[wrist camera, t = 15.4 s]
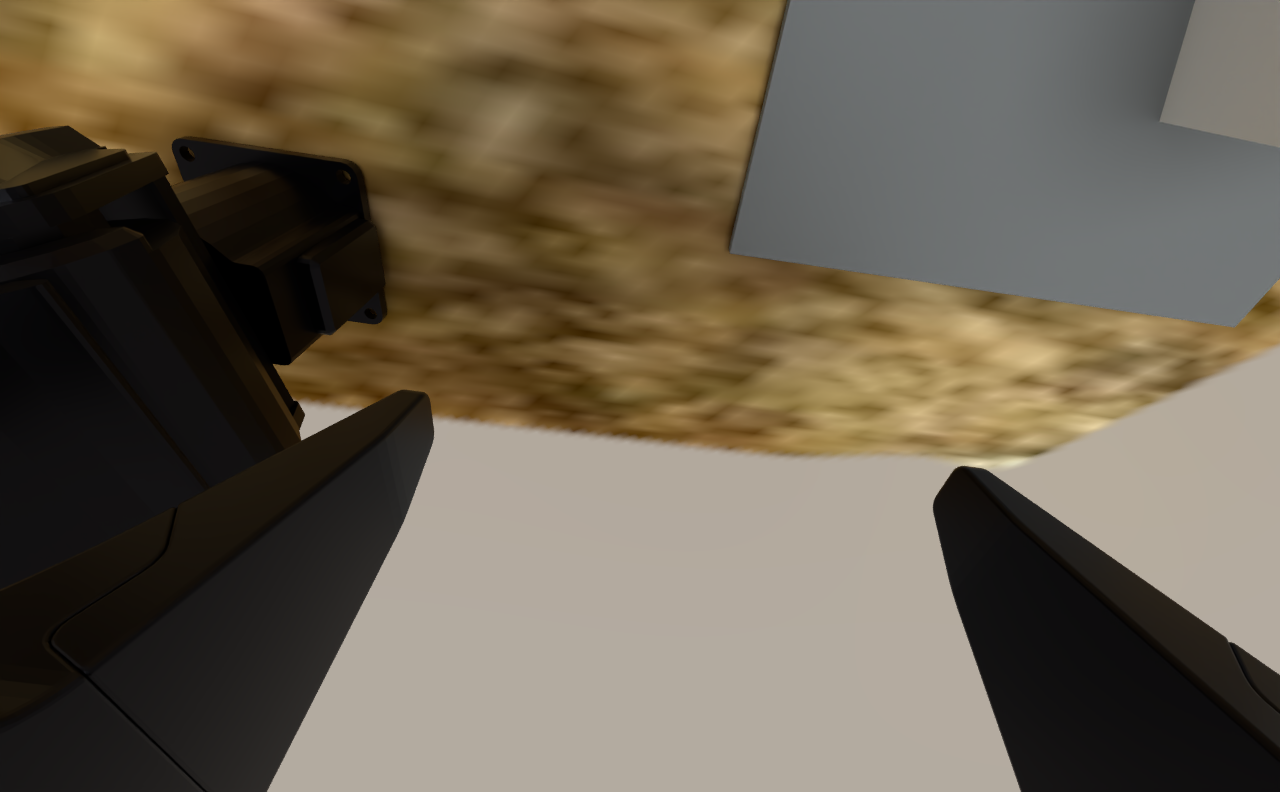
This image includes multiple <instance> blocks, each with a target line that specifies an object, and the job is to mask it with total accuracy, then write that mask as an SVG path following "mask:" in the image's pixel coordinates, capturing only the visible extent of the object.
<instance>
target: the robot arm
mask: <svg viewBox="0 0 1280 792" xmlns="http://www.w3.org/2000/svg"><path fill="white" fill-rule="evenodd" d="M188 148H189V149H191V150H192V151H193V153H194V155H195V158H194V157H193V156H192V155H191V154H190V153H189V151H188ZM172 150H173V154H174V156H175V159H176V162H177V164H178V167H179V170H180V173H181V175H182V178H183V181H184V182H182V183H179V184H176V185H173V186H171V185H170V184H169V182H168V180H167V178H166V177H165V175H167V174H169V173H168V171H167V169H166V168H165V166H164V164H163V162H162V161H161V159H160V157H159V155H158V153H157V152H144V153H130V154H128V153H127V152H126V150H125V149H107V148H106V146H102V147H100V146H99V145H97V144H96V143H94V142H93V141H91V140H90V139H88V138H87V137H85V136H83V135H82V134H80V133H79V132H77V131H76V130H74V129H73V128H71V127H70V126H58V127H46V128H40V129H34V130H29V131H23V132H17V133H11V134H6V135H0V792H267V790H268V788H269V786H270V784H271V782H272V780H273V778H274V776H275V774H276V772H277V771H278V769H279V767H280V765H281V763H282V761H283V759H284V757H285V754H286V753H287V751H288V749H289V747H290V745H291V743H292V741H293V739H294V737H295V735H296V733H297V731H298V729H299V727H300V725H301V723H302V721H303V719H304V717H305V716H306V714H307V712H308V710H309V708H310V706H311V704H312V702H313V700H314V698H315V696H316V694H317V692H318V690H319V688H320V686H321V684H322V682H323V680H324V678H325V676H326V674H327V672H328V670H329V668H330V666H331V664H332V662H333V660H334V658H335V657H336V655H337V653H338V651H339V649H340V647H341V645H342V643H343V641H344V639H345V637H346V635H347V633H348V631H349V629H350V627H351V625H352V623H353V621H354V619H355V617H356V615H357V613H358V611H359V609H360V607H361V605H362V603H363V601H364V599H365V598H366V596H367V594H368V592H369V589H370V588H371V586H372V584H373V582H374V580H375V578H376V576H377V574H378V572H379V570H380V568H381V566H382V564H383V562H384V560H385V558H386V556H387V554H388V552H389V550H390V548H391V546H392V544H393V542H394V541H395V539H396V537H397V534H398V532H399V530H400V528H401V526H402V524H403V522H404V519H405V517H406V514H407V511H408V509H409V506H410V504H411V501H412V498H413V496H414V493H415V490H416V487H417V485H418V482H419V479H420V476H421V474H422V471H423V468H424V466H425V463H426V460H427V457H428V455H429V452H430V449H431V446H432V443H433V439H434V426H433V419H432V412H431V404H430V399H429V397H428V395H427V394H426V393H424V392H419V391H412V390H400V391H397V392H395V393H393V394H391V395H389V396H388V397H386V398H384V399H382V400H380V401H378V402H376V403H374V404H372V405H370V406H368V407H366V408H364V409H362V410H360V411H358V412H356V413H355V414H353V415H351V416H349V417H347V418H345V419H343V420H341V421H339V422H337V423H335V424H333V425H331V426H329V427H327V428H325V429H324V430H322V431H320V432H318V433H316V434H314V435H312V436H310V437H308V438H306V439H304V440H302V441H301V437H300V432H299V430H300V427H301V424H302V422H303V419H304V417H305V413H304V412H303V410H302V408H301V406H300V405H299V403H298V402H297V401H293V399H292V397H291V396H290V394H289V392H288V390H287V389H286V387H285V385H284V383H283V382H282V380H281V378H280V376H279V375H278V373H277V371H276V369H275V368H274V366H273V364H278V365H289V364H290V363H292V362H293V361H294V360H295V359H296V358H297V357H298V356H299V355H300V354H302V353H303V352H304V351H305V350H306V349H307V348H308V347H309V346H310V345H312V344H313V343H314V342H315V341H316V340H317V339H318V338H319V337H320V336H322V335H323V334H324V335H332V334H333V333H334V332H336V331H337V330H338V329H339V328H340V327H341V326H342V325H343V324H344V323H345V322H346V321H353V322H360V323H367V324H378V323H380V322H381V321H382V320H383V319H384V318H385V317H386V315H387V309H386V304H385V298H384V292H383V287H384V286H385V277H384V272H383V266H382V260H381V254H380V248H379V243H378V237H377V231H376V227H375V226H374V224H373V223H372V222H371V219H370V213H369V208H368V202H367V197H366V191H365V185H364V180H363V175H362V172H361V170H360V169H359V168H358V166H357V165H356V164H354V163H353V162H351V161H349V160H345V159H338V158H331V157H325V156H318V155H311V154H305V153H298V152H291V151H284V150H278V149H271V148H264V147H257V146H251V145H244V144H237V143H231V142H224V141H217V140H210V139H204V138H197V137H183V138H178V139H176V140H174V141H173V143H172ZM342 170H345V171H346V172H347V173H348V174H349V175H350V177H351V182H350V181H347V180H346V179H345V178H344V177H343V175H342ZM369 308H370V309H373V310H374V311H375V312H376V314H377V315H375V314H373V313H371V312H370V310H369ZM933 513H934V517H935V521H936V526H937V530H938V535H939V539H940V543H941V548H942V551H943V556H944V560H945V565H946V569H947V573H948V578H949V582H950V585H951V589H952V593H953V596H954V599H955V602H956V605H957V609H958V612H959V614H960V617H961V620H962V623H963V626H964V629H965V632H966V635H967V637H968V640H969V643H970V646H971V649H972V652H973V655H974V658H975V660H976V663H977V666H978V669H979V672H980V675H981V678H982V681H983V684H984V686H985V689H986V692H987V695H988V698H989V701H990V704H991V706H992V709H993V712H994V715H995V718H996V721H997V724H998V727H999V730H1000V732H1001V735H1002V738H1003V741H1004V744H1005V747H1006V750H1007V753H1008V756H1009V758H1010V761H1011V764H1012V767H1013V770H1014V773H1015V776H1016V779H1017V782H1018V785H1019V787H1020V790H1021V792H1280V675H1279V674H1277V673H1276V672H1275V671H1273V670H1272V669H1270V668H1269V667H1267V666H1266V665H1265V664H1263V663H1262V662H1260V661H1259V660H1257V659H1256V658H1255V657H1253V656H1252V655H1250V654H1249V653H1247V652H1246V651H1245V650H1243V649H1242V648H1240V647H1239V646H1238V645H1236V644H1235V643H1232V642H1228V640H1227V638H1226V637H1224V636H1223V635H1221V634H1220V633H1219V632H1217V631H1216V630H1214V629H1213V628H1212V627H1210V626H1209V625H1207V624H1206V623H1204V622H1203V621H1202V620H1200V619H1199V618H1197V617H1196V616H1194V615H1193V614H1192V613H1190V612H1189V611H1187V610H1186V609H1184V608H1183V607H1182V606H1180V605H1179V604H1177V603H1176V602H1175V601H1173V600H1172V599H1170V598H1169V597H1167V596H1166V595H1165V594H1163V593H1162V592H1160V591H1159V590H1157V589H1156V588H1154V587H1153V586H1152V585H1150V584H1149V583H1147V582H1146V581H1145V580H1143V579H1142V578H1140V577H1139V576H1137V575H1136V574H1135V573H1133V572H1132V571H1130V570H1129V569H1127V568H1126V567H1124V566H1123V565H1122V564H1120V563H1119V562H1117V561H1116V560H1115V559H1113V558H1112V557H1110V556H1109V555H1107V554H1106V553H1105V552H1103V551H1102V550H1100V549H1099V548H1097V547H1096V546H1095V545H1093V544H1092V543H1090V542H1089V541H1087V540H1086V539H1085V538H1083V537H1082V536H1080V535H1079V534H1077V533H1076V532H1074V531H1073V530H1071V529H1070V528H1069V527H1067V526H1066V525H1064V524H1063V523H1062V522H1060V521H1059V520H1057V519H1056V518H1055V517H1053V516H1052V515H1050V514H1049V513H1048V512H1046V511H1045V510H1043V509H1042V508H1040V507H1039V506H1038V505H1036V504H1035V503H1033V502H1032V501H1030V500H1029V499H1027V498H1026V497H1024V496H1023V495H1022V494H1020V493H1019V492H1017V491H1016V490H1015V489H1013V488H1012V487H1010V486H1009V485H1008V484H1006V483H1005V482H1003V481H1002V480H1000V479H999V478H997V477H996V476H995V475H993V474H992V473H990V472H989V471H987V470H985V469H982V468H976V467H968V466H960V467H957V468H956V469H954V471H953V472H952V473H951V475H950V476H949V478H948V479H947V481H946V482H945V484H944V485H943V487H942V488H941V489H940V491H939V493H938V494H937V495H936V497H935V500H934V503H933Z"/></svg>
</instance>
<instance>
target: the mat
mask: <svg viewBox="0 0 1280 792" xmlns="http://www.w3.org/2000/svg"><path fill="white" fill-rule="evenodd" d="M1194 3H1195V0H788V1H787V5H786V9H785V13H784V18H783V22H782V26H781V30H780V35H779V39H778V43H777V47H776V51H775V56H774V60H773V64H772V68H771V73H770V77H769V81H768V85H767V89H766V94H765V98H764V102H763V106H762V110H761V115H760V119H759V123H758V127H757V132H756V136H755V140H754V144H753V148H752V153H751V157H750V161H749V165H748V169H747V174H746V178H745V182H744V186H743V191H742V195H741V199H740V203H739V207H738V212H737V216H736V220H735V224H734V228H733V233H732V237H731V241H730V245H729V252H730V253H731V254H737V255H744V256H751V257H758V258H765V259H771V260H778V261H785V262H792V263H799V264H806V265H812V266H819V267H826V268H833V269H840V270H847V271H853V272H860V273H867V274H874V275H881V276H888V277H894V278H901V279H908V280H915V281H922V282H929V283H935V284H942V285H949V286H956V287H963V288H970V289H976V290H983V291H990V292H997V293H1004V294H1011V295H1017V296H1024V297H1031V298H1038V299H1045V300H1052V301H1058V302H1065V303H1072V304H1079V305H1086V306H1093V307H1099V308H1106V309H1113V310H1120V311H1127V312H1134V313H1140V314H1147V315H1154V316H1161V317H1168V318H1174V319H1181V320H1188V321H1195V322H1202V323H1209V324H1215V325H1222V326H1229V327H1235V326H1236V325H1237V324H1238V323H1239V322H1240V321H1241V320H1242V319H1243V318H1244V317H1245V316H1246V314H1247V313H1248V312H1249V311H1250V310H1251V309H1252V308H1253V307H1254V306H1255V305H1256V304H1257V302H1258V301H1259V300H1260V299H1261V298H1262V297H1263V296H1264V295H1265V294H1266V293H1267V292H1268V290H1269V289H1270V288H1271V287H1272V286H1273V285H1274V284H1275V283H1276V282H1277V281H1278V280H1279V278H1280V147H1275V146H1270V145H1266V144H1261V143H1256V142H1252V141H1247V140H1242V139H1238V138H1233V137H1228V136H1224V135H1219V134H1214V133H1209V132H1205V131H1200V130H1195V129H1191V128H1186V127H1181V126H1177V125H1172V124H1167V123H1163V122H1159V121H1160V117H1161V114H1162V111H1163V107H1164V104H1165V101H1166V97H1167V94H1168V91H1169V87H1170V84H1171V80H1172V77H1173V74H1174V70H1175V67H1176V64H1177V60H1178V57H1179V54H1180V50H1181V47H1182V43H1183V40H1184V37H1185V33H1186V30H1187V27H1188V23H1189V20H1190V17H1191V13H1192V10H1193V6H1194Z"/></svg>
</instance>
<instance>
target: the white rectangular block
mask: <svg viewBox="0 0 1280 792" xmlns="http://www.w3.org/2000/svg"><path fill="white" fill-rule="evenodd" d="M1159 122H1163V123H1167V124H1172V125H1177V126H1181V127H1186V128H1191V129H1195V130H1200V131H1205V132H1209V133H1214V134H1219V135H1224V136H1228V137H1233V138H1238V139H1242V140H1247V141H1252V142H1256V143H1261V144H1266V145H1270V146H1275V147H1280V0H1195V3H1194V6H1193V10H1192V13H1191V17H1190V20H1189V23H1188V27H1187V30H1186V33H1185V37H1184V40H1183V43H1182V47H1181V50H1180V54H1179V57H1178V60H1177V64H1176V67H1175V70H1174V74H1173V77H1172V80H1171V84H1170V87H1169V91H1168V94H1167V97H1166V101H1165V104H1164V107H1163V111H1162V114H1161V117H1160V121H1159Z"/></svg>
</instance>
